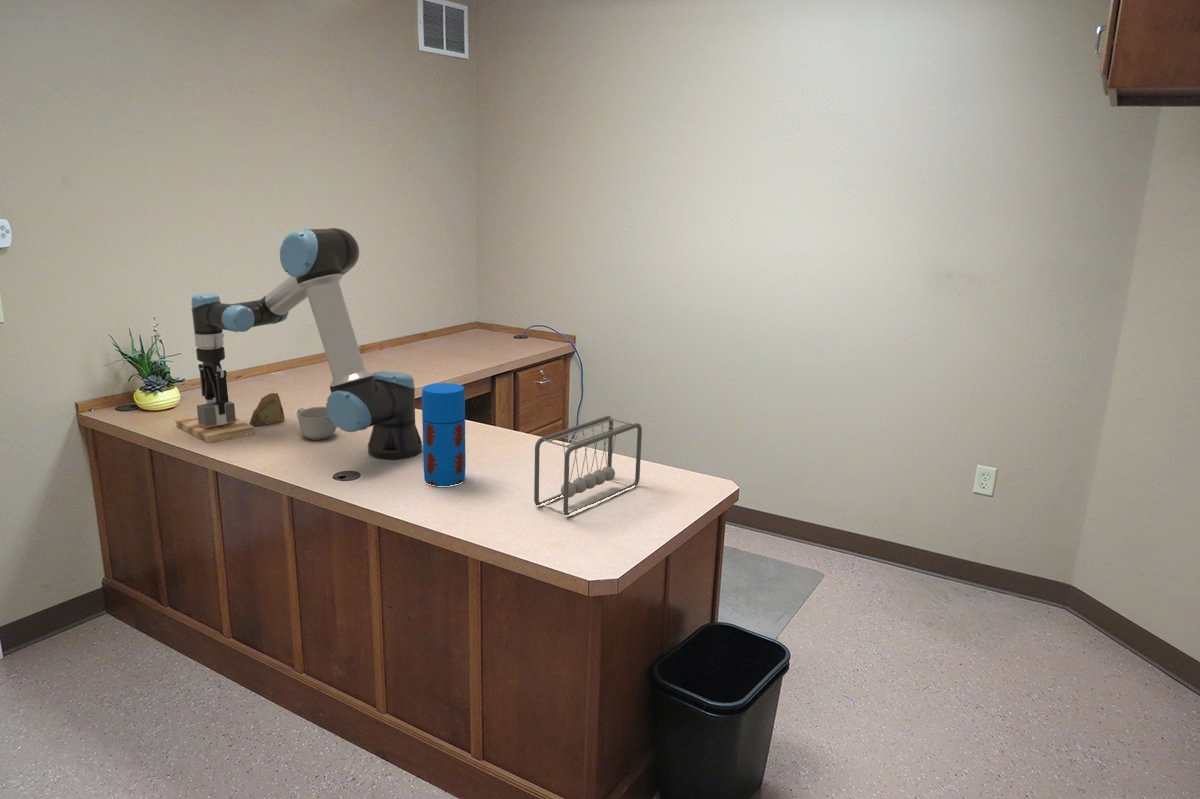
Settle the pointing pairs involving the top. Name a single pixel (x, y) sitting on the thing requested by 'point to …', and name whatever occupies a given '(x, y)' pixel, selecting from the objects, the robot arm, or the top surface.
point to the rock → (268, 410)
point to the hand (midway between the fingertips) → (217, 422)
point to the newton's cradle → (598, 475)
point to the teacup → (315, 423)
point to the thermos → (443, 433)
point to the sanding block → (214, 414)
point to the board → (214, 429)
